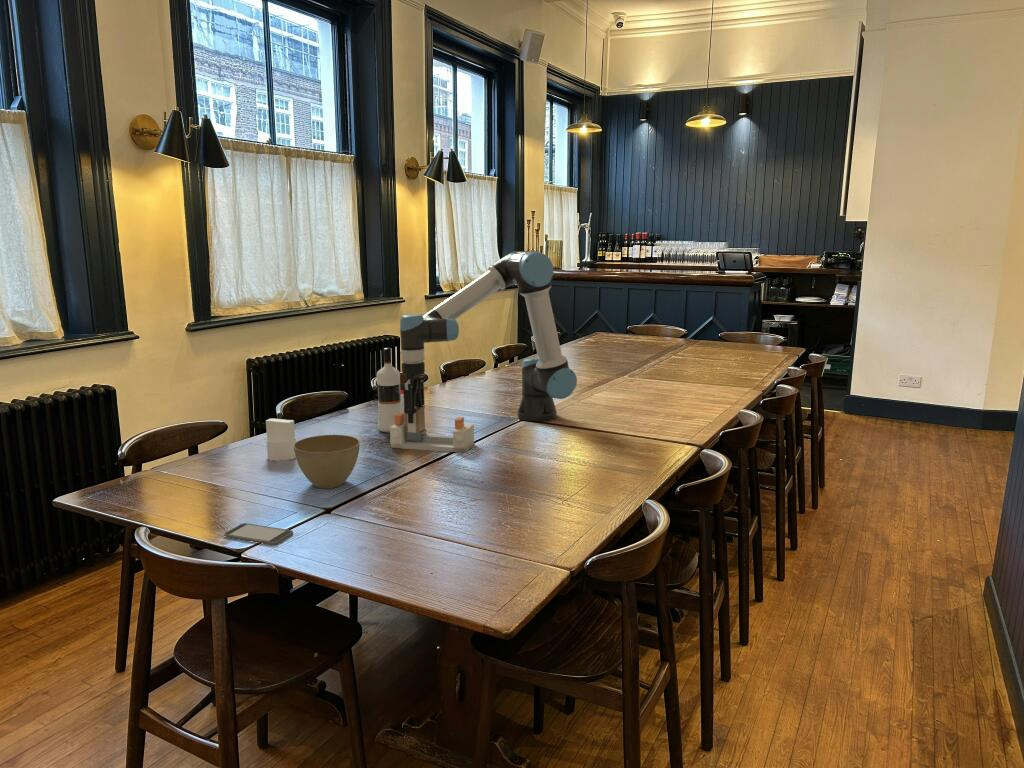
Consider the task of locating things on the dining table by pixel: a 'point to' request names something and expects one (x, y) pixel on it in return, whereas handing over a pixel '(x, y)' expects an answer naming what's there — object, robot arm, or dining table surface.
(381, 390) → the vodka
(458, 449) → the linear slide base
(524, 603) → the dining table surface
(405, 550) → the dining table surface
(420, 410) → the carriage
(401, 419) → the gauge plunger
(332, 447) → the tan bowl
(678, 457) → the dining table surface
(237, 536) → the smartphone
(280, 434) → the base with upright slab
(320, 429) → the dining table surface
